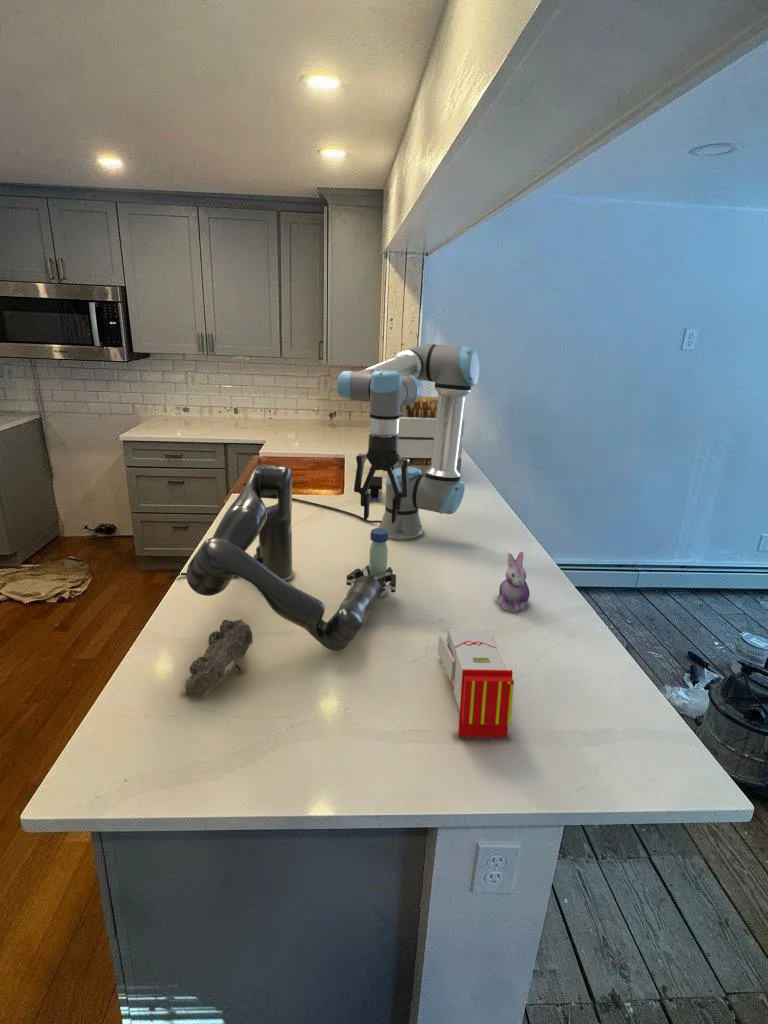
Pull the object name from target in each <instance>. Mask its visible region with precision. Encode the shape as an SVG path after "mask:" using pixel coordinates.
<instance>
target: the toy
mask: <svg viewBox="0 0 768 1024" xmlns="http://www.w3.org/2000/svg"><path fill="white" fill-rule="evenodd" d="M446 640H447V643H446V641H445V639H444V636H443V635H442V634H439V637H438V646H437V656H438V657H439V659H440V661H441V663H442V666H443V668H444V670H445V672H446V674H447V677H448V679H449V681H450V684H451V687H452V690H453V693H454V697H455V701H456V705H457V708H458V711H459V714H458V715H459V716H458V730H457V731H458V732H457V737H458V738H508V731H509V726H510V725H511V717H512V707H513V697H514V696H513V695H514V684H515V680H514V679H513V673H514V671H513V670H512V669H508V667H507V665H506V662H505V661H504V659H503V658H502V655H501V653H500V651H499V649H498V647H497V643H496V639H495V637H494V635H493V634H491V632H490V631H489V629H467V628H466V629H465V628H463V629H461V628H460V629H459V628H448V630H447V639H446Z"/></svg>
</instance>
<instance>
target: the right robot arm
mask: <svg viewBox="0 0 768 1024" xmlns="http://www.w3.org/2000/svg"><path fill="white" fill-rule="evenodd" d="M479 377H480V359H479V356H478V353H477V351H476V350H475V349H474V348H473V347H470V346H464V345H451V344H450V345H449V344H436V343H435V344H434V343H429V344H428V343H427V344H421V345H420V344H419V345H417V346H412V347H410V348H407V349H404V350H402V351H399V352H398V353H397V354H396V355H395V356H394V357H392V358H390V359H388V360H387V359H386V360H385V361H383V362H379V363H377V364H375V365H372V366H369V367H367V368H364V369H362V370H358V371H356V370H355V371H354V370H343V371H341V373H340V374H339V375H338V377H337V382H336V390H337V393H338V395H339V396H340V398H341V399H346V400H350V401H359V402H366V403H367V402H368V403H369V420H368V421H369V423H368V432H369V433H370V434H369V435H368V450H367V452H366V453H363V454H362V453H359V454H358V455H356V456H355V461H356V471H355V478H354V486H353V491H354V493H358V494H359V495H360V507H363V517H362V516H360V515H358V514H355V513H352V512H349V511H346V510H343V509H341V508H336V507H333V506H329V505H324V504H320V503H318V502H317V503H316V502H312V501H308V500H303V499H300V498H294V497H292V501H293V502H299V503H304V504H308V505H313V506H317V507H321V508H324V509H327V510H332V511H336V512H339V513H343V514H346V515H350V516H352V517H355V518H356V519H357V518H358V519H360V520H361V521H363V522H366V523H368V524H369V523H370V524H379V526H378V528H382V529H386V530H387V531H388V539H389V540H395V541H410V540H415V539H418V538H420V537H421V536H422V535H423V525H422V524H421V518H420V515H419V510H423V511H428V512H434V513H437V514H440V515H442V514H444V515H453V514H454V513H456V512H457V510H458V509H459V508H460V506H461V503H462V502H463V498H464V495H465V489H466V487H465V482H464V481H462V480H461V474H459V472H458V471H457V469H456V468H457V460H458V451H459V443H460V439H461V438H460V435H461V427H462V419H464V408H465V403H466V402H465V401H466V397H467V395H468V394H470V393H471V392H472V387H474V386H476V385H477V384H478V381H479ZM420 381H425V382H432V383H434V389H435V391H436V393H437V395H438V396H437V397H438V404H437V413H436V422H435V431H434V440H433V449H432V459H431V465H430V466H429V468H427V469H426V470H425V471H424V472H425V473H424V474H422V470H421V468H419V467H415V466H408V464H409V459H408V458H406V459H404V458H402V457H399V454H398V438H399V437H398V435H396V434H398V433H399V418H400V407H401V406H405V405H409V404H412V403H413V402H415V401H416V400H418V398H419V397H421V396H422V395H421V394H422V384H421V382H420ZM366 460H367V461H368V463H369V464H370V465H371V466H370V468H369V470H368V473H367V476H366V479H365V481H364V483H363V485H362V482H363V474H364V466H365V462H367V461H366ZM397 461H398V462H399V463H400V466H401V467H402V468H397V469H395V468H394V465H395V464H396V463H397ZM376 471H383V472H387V475H386V480H385V481H386V482H385V504H384V505H385V507H384V508H385V509H384V513H383V515H382V519H381V520H379V519H378V520H377V519H376V520H370V519H369V517H370V493H367V490H368V488H369V485H370V483H371V481H372V478H373V476H375V474H376ZM246 483H247V482H245V483H243V486H244V487H245V485H246Z"/></svg>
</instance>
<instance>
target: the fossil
mask: <svg viewBox="0 0 768 1024" xmlns="http://www.w3.org/2000/svg"><path fill="white" fill-rule="evenodd" d="M207 641H208V643H207V645H208V646H207V648H206V649H205V652H204V654H203V655H202V656H198V657H197V658H196V659H195V660H193V661H192V662H191V664H190V666H189V668H188V670H189V672H190V674H191V675H190V676H189V678H188V679H186V681H185V685H184V686H185V694H187V695H191V696H192V697H197V696H201V695H207V694H209V693H210V692H211V691H212V690H213V689H214V688H215V687H217V686H218V685H219V684H220V682H222V681H223V680H224V679H225V678H226V677H227V676H229V674H230V673H231V672H232V669H234V668H236V669H237V670H238V671H240V672H241V671H242V668H241V667H240V666H239V665H238V663H239V662H240V660H241V659H243V658H244V656H245V655H247V651H248V649H249V648H250V646H251V645H252V644H253V632H252V630H251V627H250V625H249V624H247V623H245V621H244V620H243V619H236V620H235V619H234V620H229V619H223V620H222V621H221V624H220V625H219V630H215V631H211V633H210V634H209V635H208V640H207Z"/></svg>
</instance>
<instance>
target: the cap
mask: <svg viewBox="0 0 768 1024" xmlns="http://www.w3.org/2000/svg"><path fill="white" fill-rule="evenodd" d="M388 540H389V538H388V531H387V530H386V529H382V528H379V527H378V528H377V527H375V528H372V529H370V541H372V542H377V543H383V542H386V543H387V542H388Z"/></svg>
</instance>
